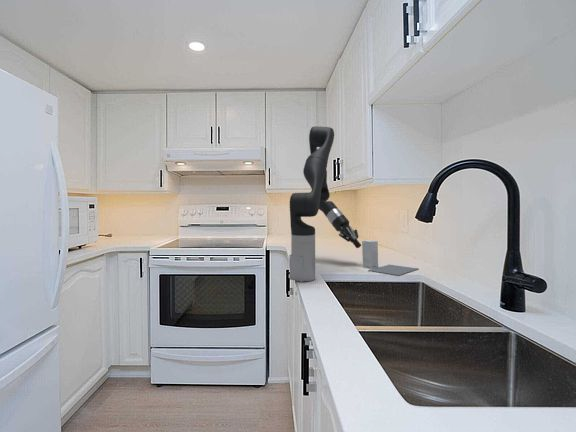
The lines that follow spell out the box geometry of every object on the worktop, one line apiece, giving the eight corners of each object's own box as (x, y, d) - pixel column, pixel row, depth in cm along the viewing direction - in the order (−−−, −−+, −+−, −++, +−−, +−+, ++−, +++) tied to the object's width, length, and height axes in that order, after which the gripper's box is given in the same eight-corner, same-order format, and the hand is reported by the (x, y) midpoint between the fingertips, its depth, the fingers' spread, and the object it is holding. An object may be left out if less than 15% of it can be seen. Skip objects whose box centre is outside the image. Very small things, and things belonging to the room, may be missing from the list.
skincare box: (378, 267, 152) (378, 241, 152) (371, 269, 150) (371, 241, 149) (369, 265, 157) (369, 239, 157) (361, 266, 155) (361, 240, 155)
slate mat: (398, 275, 135) (398, 274, 135) (368, 271, 145) (368, 270, 145) (418, 269, 148) (418, 268, 148) (389, 265, 158) (389, 264, 158)
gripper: (333, 214, 159) (356, 242, 151) (350, 213, 168) (371, 240, 160) (324, 225, 163) (346, 253, 155) (341, 224, 172) (362, 250, 164)
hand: (359, 246), depth 157 cm, fingers closed
